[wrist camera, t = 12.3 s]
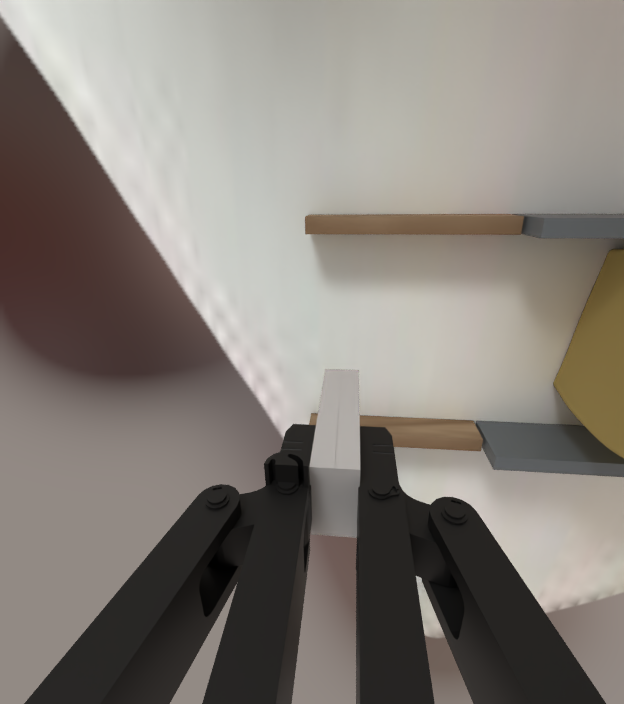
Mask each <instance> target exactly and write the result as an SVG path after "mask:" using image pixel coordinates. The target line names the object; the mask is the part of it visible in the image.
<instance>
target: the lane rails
mask: <svg viewBox="0 0 624 704" xmlns="http://www.w3.org/2000/svg"><path fill="white" fill-rule="evenodd" d="M523 220H524V216H519V215H511V214H387V215H308V216H306V217H305V234H493V235H521V231H522V225H523ZM317 416H318V414H316V413H311V418H310V423H309V425H316V423H317ZM360 426H369V427H386V429H387V430H388V431H389V432H390V434H391V435H392V439H393V447H410V448H429V449H448V450H466V451H481V447H482V442H483V439H482V437H481V435H480V433H479V431H478V429H477V427H476V425H475V423H474V421H468V420H446V419H425V418H403V417H381V416H360Z"/></svg>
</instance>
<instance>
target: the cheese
mask: <svg viewBox="0 0 624 704" xmlns="http://www.w3.org/2000/svg"><path fill="white" fill-rule="evenodd" d="M553 384H554V387H555V388H556V390H557V391H558V393H559V394H560V396H561V397H562V399H563V401H564V402H565V404H566V405H567V407H568V408H569V409H570V411H571V412H572V413H573V414H574V415H575V416H576V418H577V419H578V420H579V421H580V422H581V423H582V424H583V425H584V426H585V427H586V428H587V429H588V430H589V431H590V432H591V433H592V434H593V435H594V436H595V437H596V438H597V439H598V440H599V441H600V442H601V443H602V444H604V445H605V446H606V447H607V448H609V449H610V450H611V451H613V452H614V453H616V454H617V455H619V456H620V457H622V458H624V249H612V250H611V251H609V253H608V255H607V257H606V259H605V262H604V264H603V267H602V269H601V271H600V273H599V276H598V278H597V280H596V283H595V285H594V287H593V289H592V292H591V294H590V296H589V299H588V301H587V303H586V306H585V308H584V310H583V313H582V315H581V318H580V320H579V323H578V325H577V328H576V330H575V333H574V335H573V338H572V340H571V343H570V346H569V348H568V351H567V353H566V356H565V358H564V361H563V363H562V365H561V368H560V370H559V372H558V374H557V377H556V379H555V381H554V383H553Z"/></svg>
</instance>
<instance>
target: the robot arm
mask: <svg viewBox="0 0 624 704" xmlns="http://www.w3.org/2000/svg"><path fill="white" fill-rule="evenodd" d="M264 469H265V480H266V486H265V487H264V488H262V489H260V490H257V491H254V492H251V493H245V494H240V495H239V492H238V491H237V490H236V488H234V487H232V486H229V485H222V484H221V485H216V486H212V487H209V488H208V489H205V490H204V491H203V492H201V493H200V494H199V495H198V496H197V498H196V499H195V500H194V501H193V502H192V503H191V505H190V506H189V507H188V508H187V510H186V511H185V512H184V513H183V514H182V515H181V517H180V518H179V519H178V520H177V521H176V523H175V524H174V525H173V526H172V527H171V529H170V530H169V531H168V532H167V533H166V535H165V536H164V537H163V538H162V539H161V541H160V542H159V543H158V544H157V545H156V547H155V548H154V549H153V550H152V551H151V553H150V554H149V555H148V556H147V558H146V559H145V560H144V561H143V562H142V564H141V565H140V566H139V567H138V568H137V569H136V570H135V572H134V573H133V574H132V575H131V576H130V578H129V579H128V580H127V581H126V582H125V584H124V585H123V586H122V587H121V588H120V590H119V591H118V592H117V593H116V594H115V596H114V597H113V598H112V599H111V600H110V602H109V603H108V604H107V605H106V606H105V608H104V609H103V610H102V611H101V612H100V614H99V615H98V616H97V617H96V618H95V620H94V621H93V622H92V623H91V624H90V626H89V627H88V628H87V629H86V630H85V632H84V633H83V634H82V635H81V636H80V638H79V639H78V640H77V641H76V642H75V644H74V645H73V646H72V647H71V649H70V650H69V651H68V652H67V653H66V654H65V656H64V657H63V658H62V659H61V661H60V662H59V663H58V664H57V665H56V666H55V668H54V669H53V670H52V671H51V672H50V674H49V675H48V676H47V677H46V678H45V679H44V681H43V682H42V683H41V684H40V685H39V687H38V688H37V689H36V690H35V691H34V693H33V694H32V695H31V696H30V697H29V699H28V700H27V701H26V702H25V703H24V704H170V702H171V700H172V698H173V696H174V695H175V693H176V691H177V689H178V688H179V686H180V684H181V682H182V680H183V678H184V677H185V675H186V673H187V671H188V670H189V668H190V666H191V664H192V663H193V661H194V659H195V657H196V655H197V654H198V652H199V650H200V648H201V646H202V645H203V643H204V641H205V639H206V637H207V636H208V634H209V632H210V630H211V628H212V627H213V625H214V623H215V621H216V620H217V618H218V616H219V614H220V612H221V611H222V609H223V607H224V605H225V603H226V602H227V600H228V598H229V596H230V594H231V593H232V591H233V589H234V587H235V585H236V584H237V586H236V590H235V593H234V597H233V600H232V603H231V607H230V610H229V614H228V617H227V621H226V624H225V628H224V631H223V634H222V638H221V642H220V645H219V649H218V652H217V655H216V658H215V662H214V665H213V669H212V672H211V676H210V679H209V683H208V686H207V689H206V693H205V696H204V700H203V703H202V704H291V703H292V695H293V686H294V678H295V670H296V661H297V653H298V645H299V636H300V628H301V620H302V611H303V603H304V595H305V586H306V579H307V570H308V562H309V554H310V532H311V534H314V535H327V536H341V537H355V538H357V552H356V553H357V554H356V572H357V573H356V580H357V581H356V585H357V586H356V589H357V590H356V594H357V595H356V704H434V697H433V690H432V683H431V677H430V670H429V663H428V657H427V650H426V643H425V636H424V629H423V622H422V616H421V609H420V602H419V595H418V589H417V582H416V576H419V577H421V578H422V582H423V585H424V587H425V589H426V592H427V594H428V597H429V599H430V601H431V604H432V606H433V608H434V611H435V613H436V616H437V618H438V620H439V623H440V625H441V627H442V630H443V632H444V635H445V637H446V639H447V642H448V644H449V646H450V649H451V651H452V654H453V656H454V658H455V661H456V663H457V665H458V668H459V670H460V673H461V675H462V677H463V680H464V682H465V685H466V687H467V689H468V692H469V694H470V696H471V699H472V701H473V703H474V704H606V703H605V701H604V700H603V698H602V697H601V695H600V694H599V692H598V691H597V689H596V688H595V686H594V685H593V684H592V682H591V681H590V679H589V678H588V676H587V674H586V673H585V672H584V670H583V669H582V667H581V666H580V664H579V663H578V661H577V660H576V658H575V657H574V655H573V654H572V652H571V651H570V649H569V648H568V646H567V645H566V643H565V642H564V640H563V639H562V637H561V636H560V635H559V633H558V632H557V630H556V629H555V627H554V626H553V624H552V623H551V621H550V620H549V618H548V617H547V615H546V614H545V612H544V611H543V609H542V608H541V606H540V605H539V603H538V602H537V600H536V599H535V597H534V596H533V594H532V593H531V591H530V590H529V589H528V587H527V586H526V584H525V583H524V581H523V580H522V578H521V577H520V575H519V574H518V572H517V571H516V569H515V568H514V566H513V565H512V563H511V562H510V560H509V559H508V557H507V556H506V554H505V553H504V551H503V550H502V549H501V547H500V546H499V544H498V543H497V541H496V540H495V538H494V537H493V535H492V534H491V532H490V531H489V529H488V528H487V526H486V525H485V523H484V522H483V520H482V519H481V517H480V516H479V514H478V513H477V511H476V510H475V509H474V508H473V507H472V506H471V505H470V504H468V503H466V502H464V501H463V500H460V499H457V498H454V497H442V498H439V499H436V500H435V501H434V502H433V503H432V504H431V505H429V504H426V503H423V502H420V501H417V500H415V499H413V498H411V497H410V496H408V495H407V494H406V493H405V492H404V491H403V490H402V489H401V487H400V485H399V481H398V474H397V467H396V460H395V454H394V447H393V439H392V435H391V434H390V432H389V431H388V430H387V429H386V427H369V426H360V413H359V370H339V369H325V373H324V380H323V386H322V392H321V398H320V404H319V410H318V416H317V423H316V425H302V424H293V425H292V426H291V427H290V428H289V429H288V430H287V431H286V433H285V437H284V440H283V444H282V447H281V451H280V452H279V453H276V454H273V455H272V456H270V457H269V458H268V459H267V460H266V462H265V463H264ZM237 582H238V583H237Z"/></svg>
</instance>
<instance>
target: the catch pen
mask: <svg viewBox="0 0 624 704" xmlns="http://www.w3.org/2000/svg"><path fill="white" fill-rule="evenodd" d="M512 215H519V216H524V220H523V225H522V231H521V234H525V235H529V236H534V237H538V238H624V214H512ZM476 427H477V429H478V431H479V433H480V435H481V437H482V439H483V442H482V448H483V450H484V452H485V454H486V456H487V458H488V460H489V462H490V464H491V466H492V468H493V470H511V471H528V472H545V473H563V474H580V475H598V476H615V477H624V458H622V457H620V456H619V455H617V454H616V453H614V452H613V451H611V450H610V449H609V448H607V447H606V446H605V445H604V444H602V443H601V442H600V441H599V440H598V439H597V438H596V437H595V436H594V435H593V434H592V433H591V432H590V431H589V430H588V429H587V428H586V427H585V426H577V425H555V424H533V423H512V422H490V421H476Z"/></svg>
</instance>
